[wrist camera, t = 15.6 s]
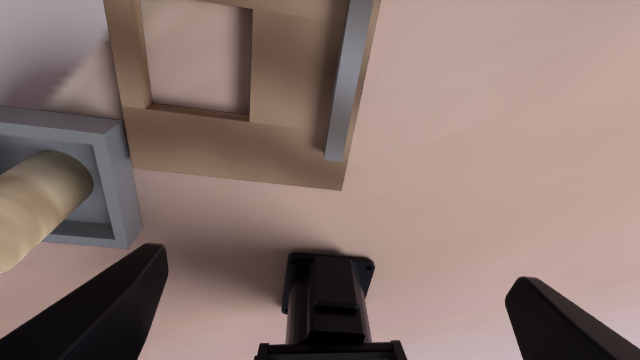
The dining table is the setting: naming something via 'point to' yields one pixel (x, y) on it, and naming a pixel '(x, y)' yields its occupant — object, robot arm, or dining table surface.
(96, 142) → the slate tray
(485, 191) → the dining table surface
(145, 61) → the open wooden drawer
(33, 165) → the maple peg
